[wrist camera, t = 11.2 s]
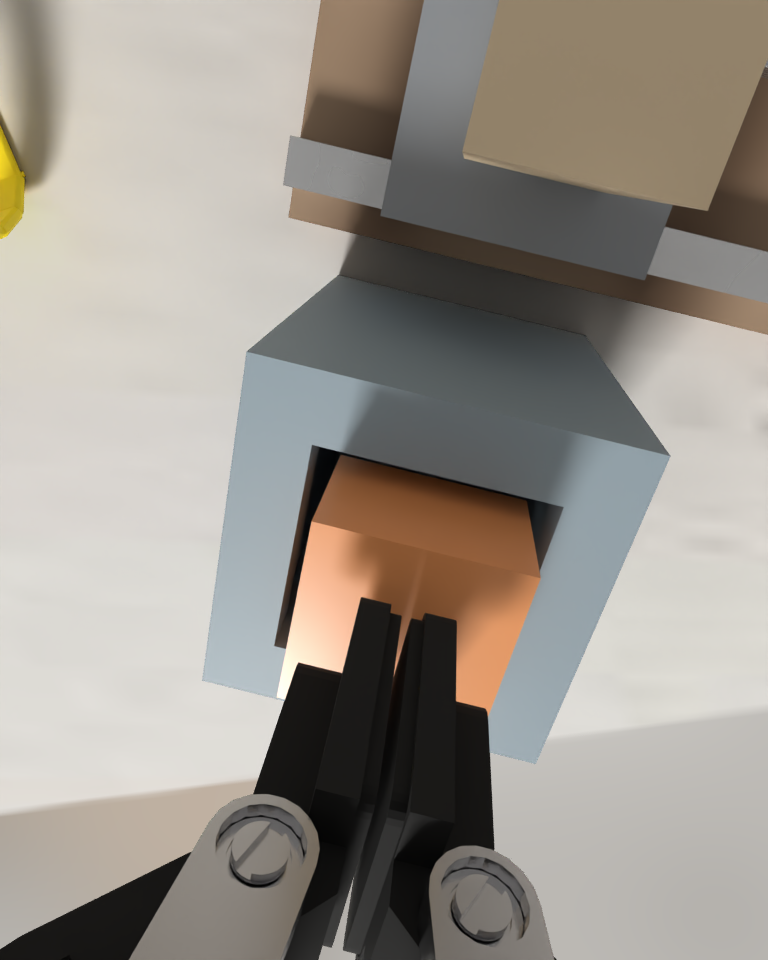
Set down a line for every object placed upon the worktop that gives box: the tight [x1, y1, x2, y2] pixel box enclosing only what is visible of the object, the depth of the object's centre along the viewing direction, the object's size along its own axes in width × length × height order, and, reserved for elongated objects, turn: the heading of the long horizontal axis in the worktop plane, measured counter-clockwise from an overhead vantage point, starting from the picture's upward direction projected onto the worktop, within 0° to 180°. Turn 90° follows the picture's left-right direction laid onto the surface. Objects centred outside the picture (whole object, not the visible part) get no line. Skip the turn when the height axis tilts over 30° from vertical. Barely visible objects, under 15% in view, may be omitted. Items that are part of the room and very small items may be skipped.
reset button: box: [277, 455, 541, 716], centre depth 14 cm, size 4×4×3 cm
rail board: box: [283, 0, 768, 335], centre depth 18 cm, size 23×8×3 cm, turn 78°
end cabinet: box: [202, 275, 670, 764], centre depth 19 cm, size 8×8×10 cm
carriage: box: [380, 0, 768, 280], centre depth 12 cm, size 6×6×10 cm
